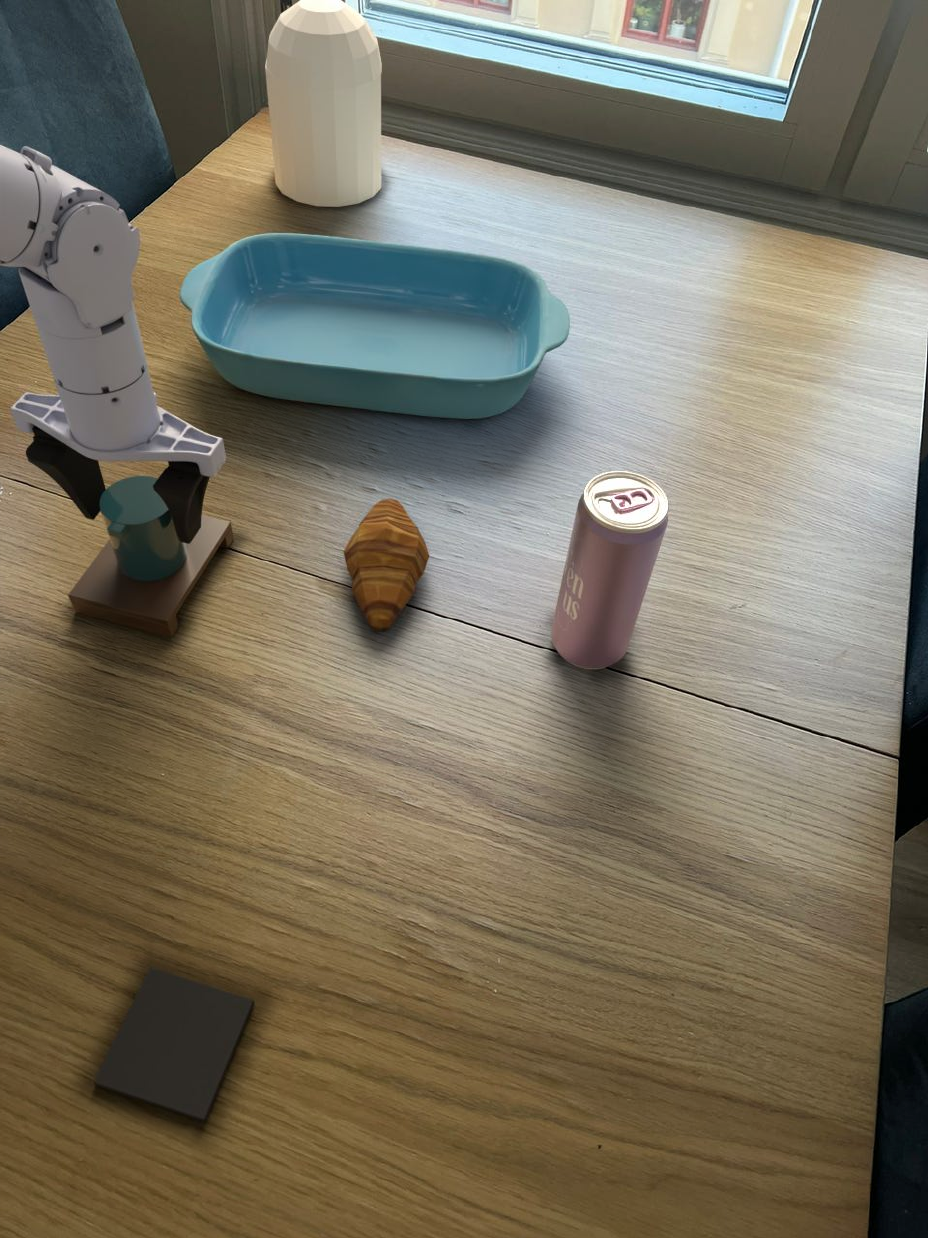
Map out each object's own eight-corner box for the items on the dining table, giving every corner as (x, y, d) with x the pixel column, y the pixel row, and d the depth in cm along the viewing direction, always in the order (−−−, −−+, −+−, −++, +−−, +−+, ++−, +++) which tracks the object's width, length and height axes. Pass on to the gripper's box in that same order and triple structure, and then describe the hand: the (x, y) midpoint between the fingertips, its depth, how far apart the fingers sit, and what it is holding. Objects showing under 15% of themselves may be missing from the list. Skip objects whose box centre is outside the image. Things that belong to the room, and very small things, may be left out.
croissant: (425, 639, 71) (427, 596, 67) (336, 635, 71) (333, 591, 67) (431, 516, 80) (433, 471, 76) (351, 512, 79) (349, 467, 76)
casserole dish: (561, 317, 101) (571, 255, 95) (559, 451, 86) (570, 386, 81) (222, 283, 101) (212, 219, 95) (163, 411, 86) (148, 345, 81)
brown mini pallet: (74, 612, 71) (67, 594, 69) (144, 516, 78) (139, 498, 76) (172, 638, 70) (167, 621, 68) (234, 538, 77) (230, 521, 75)
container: (391, 164, 121) (392, -15, 106) (371, 213, 113) (369, 26, 97) (290, 151, 122) (276, -28, 106) (262, 199, 113) (243, 11, 98)
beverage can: (640, 661, 71) (689, 519, 59) (570, 682, 69) (606, 540, 58) (604, 605, 74) (644, 461, 63) (537, 623, 73) (565, 478, 61)
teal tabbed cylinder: (99, 579, 70) (79, 521, 66) (149, 511, 75) (133, 453, 71) (163, 595, 70) (147, 538, 65) (209, 526, 75) (197, 468, 70)
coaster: (94, 1085, 50) (92, 1083, 50) (151, 970, 54) (150, 967, 54) (205, 1122, 49) (203, 1120, 49) (254, 1002, 53) (253, 999, 53)
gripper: (233, 355, 60) (256, 508, 71) (31, 310, 62) (82, 466, 73) (184, 420, 56) (216, 573, 66) (-32, 370, 58) (32, 526, 68)
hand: (143, 522), depth 69 cm, fingers open, 7 cm apart
